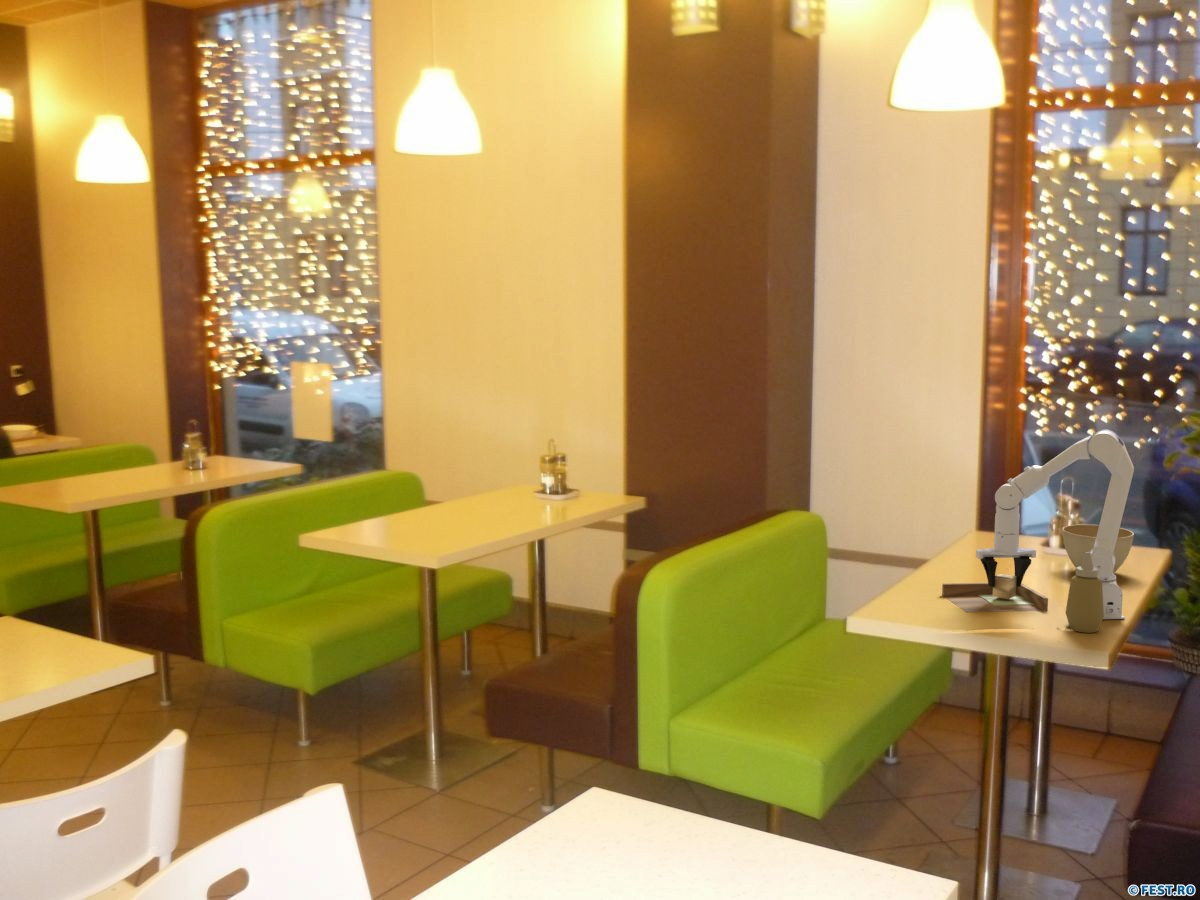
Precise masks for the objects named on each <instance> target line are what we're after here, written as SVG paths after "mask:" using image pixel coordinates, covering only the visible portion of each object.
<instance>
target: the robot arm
mask: <svg viewBox="0 0 1200 900" xmlns="http://www.w3.org/2000/svg"><path fill="white" fill-rule="evenodd" d="M1092 435H1093V436H1092ZM1092 435H1089V436H1087V437H1084V438H1083V439H1081V440H1078V441H1077V442H1075V443H1073V444H1072V445H1071V446H1069V447H1068V448H1066V449H1065V450H1063V451H1061V453H1059V454H1058V455H1057V456H1055V457H1054V458H1052V459H1050V460H1049V461H1048V462H1046V463H1045V464H1044V465H1042V466H1041V465H1036V464H1035V465H1031V466H1029V465H1028V466H1027V465H1026V467H1024V468H1023V472H1021V473H1020V474H1018V475H1017V476H1015V477H1014V478H1012V477H1010V478H1009V479H1008V480H1007V483H1005V484H1002V485H1001V486H1000V487H999V488H998V489H997V490H996V492H995V494H994V501H995V503H996V506H995V512H996V513H995V514H994V515H995V516H994V538H993V541H994V543H993V547H990V548H981V549H979V548H977V549H975V557H976V559H980V562H981V563H982V566H983V569H984V571H985V575H986V578H987V583H988V585H989V586H990V587H995V576H996V572H997V566H998V562H997V561H996V559H995V558H997V559H1001V558H1002V559H1003V558H1004V559H1005V558H1010V559H1011V558H1013V564H1014V576H1017V581H1016V586H1017V587H1021V583H1022V584H1023V579H1024V576H1025V575H1026V572H1027V570H1028V568H1029V567H1030V566H1031V564H1032V559H1036V558H1037V549H1034V548H1021V547H1019V544H1020V540H1019V539H1020V524H1021V523H1020V520H1021V519H1020V518H1021V516H1020V515H1021V514H1020V503H1021V502H1022V499H1025V500H1026V499H1029V498H1030V497H1031V496H1033V495H1034V494H1036V493H1037V492H1039V491H1040V490H1043V488H1045V487H1048V485H1049V483H1050V478H1051V477H1052V476H1053V475H1056V474H1057V473H1058V472H1060V471H1062V470H1063V469H1065V468H1066V467H1068V466H1070V465H1071V464H1073V463H1074V462H1076V461H1079V460H1090V459H1091V458H1092V457H1094V458H1095V459H1096V460H1098V461H1099V462H1101V463H1102V464H1103V465H1104V466H1105V467H1106V469H1107V470H1108V471H1109V472H1110V474H1111V476H1110V479H1109V484H1108V488H1107V492H1106V497H1105V501H1104V506H1103V508H1102V513H1101V516H1100V521H1099V524H1098V525H1099V528H1098V532H1097V537H1096V540H1095V544H1094V548H1093V549H1092V550H1091V551H1090V553H1091V557H1092V563H1093V567H1094V568H1097V569H1098V576H1097V577H1098V578H1099V579H1100V580H1101V581H1102V590H1103V608H1104V617H1103V620H1125V619H1126V616H1124V615H1123V614H1122V613H1123V596H1124V594H1123V590H1122V589H1121V587H1120V586H1119V585H1118V583H1117V575H1116V574H1115V573H1113V570H1114V565H1115V562H1116V558H1115V554H1114V548H1115V544H1116V540H1117V536H1118V532H1119V528H1121V523H1122V520H1123V515H1124V512H1125V507H1126V504H1127V499H1128V495H1129V492H1130V489H1131V483H1132V479H1133V475H1134V471H1135V466H1134V464H1133V462H1132V459H1131V456H1130V455H1129V452H1128V450H1127V447H1126V444H1125V442H1124V441H1123V439H1122V438H1121V437H1119V435H1118V434H1116V432H1114V431H1113V430H1110V429H1101V430H1099V431H1097V432H1095V433H1094V434H1092ZM1031 558H1032V559H1031Z"/></svg>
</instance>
